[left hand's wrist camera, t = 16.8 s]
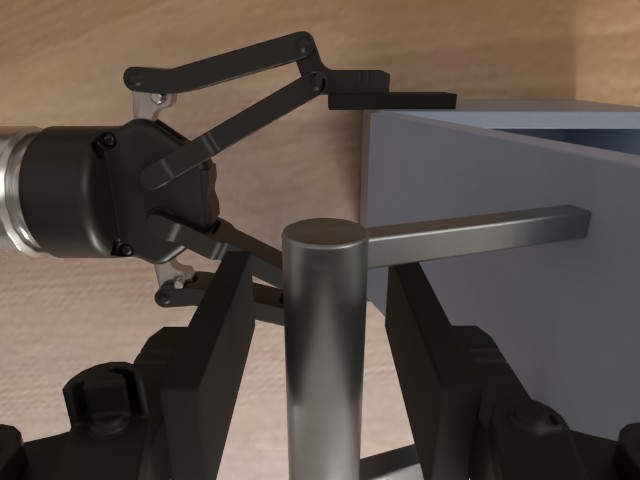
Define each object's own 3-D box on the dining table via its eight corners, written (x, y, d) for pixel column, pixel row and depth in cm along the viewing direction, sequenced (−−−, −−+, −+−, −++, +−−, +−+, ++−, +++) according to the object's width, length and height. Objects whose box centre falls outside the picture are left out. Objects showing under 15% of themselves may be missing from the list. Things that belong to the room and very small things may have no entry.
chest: (576, 99, 31) (678, 111, 22) (551, 231, 34) (630, 287, 25) (363, 99, 31) (380, 111, 22) (358, 231, 34) (372, 287, 26)
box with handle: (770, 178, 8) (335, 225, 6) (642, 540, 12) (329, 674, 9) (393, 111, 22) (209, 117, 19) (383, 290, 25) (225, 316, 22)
